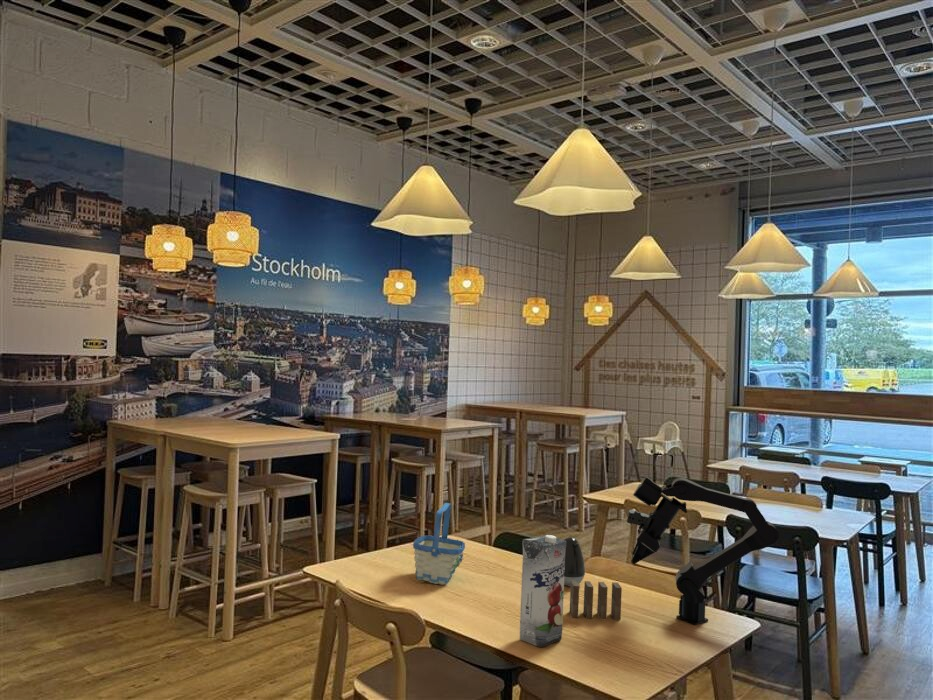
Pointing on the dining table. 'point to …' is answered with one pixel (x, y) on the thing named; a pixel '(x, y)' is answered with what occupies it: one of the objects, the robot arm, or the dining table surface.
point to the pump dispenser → (573, 562)
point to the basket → (438, 552)
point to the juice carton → (542, 590)
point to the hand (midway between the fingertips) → (633, 559)
